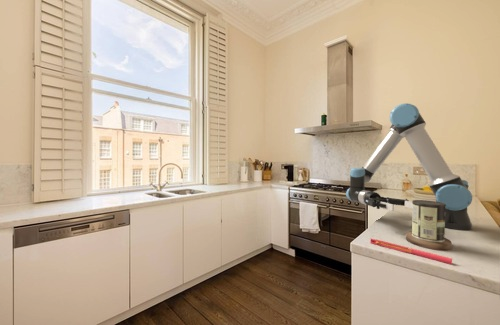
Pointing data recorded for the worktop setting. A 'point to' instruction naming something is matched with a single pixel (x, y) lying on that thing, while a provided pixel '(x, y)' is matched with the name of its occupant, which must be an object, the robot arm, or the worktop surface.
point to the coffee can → (428, 220)
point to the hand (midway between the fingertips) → (406, 207)
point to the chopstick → (413, 251)
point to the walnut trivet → (429, 243)
